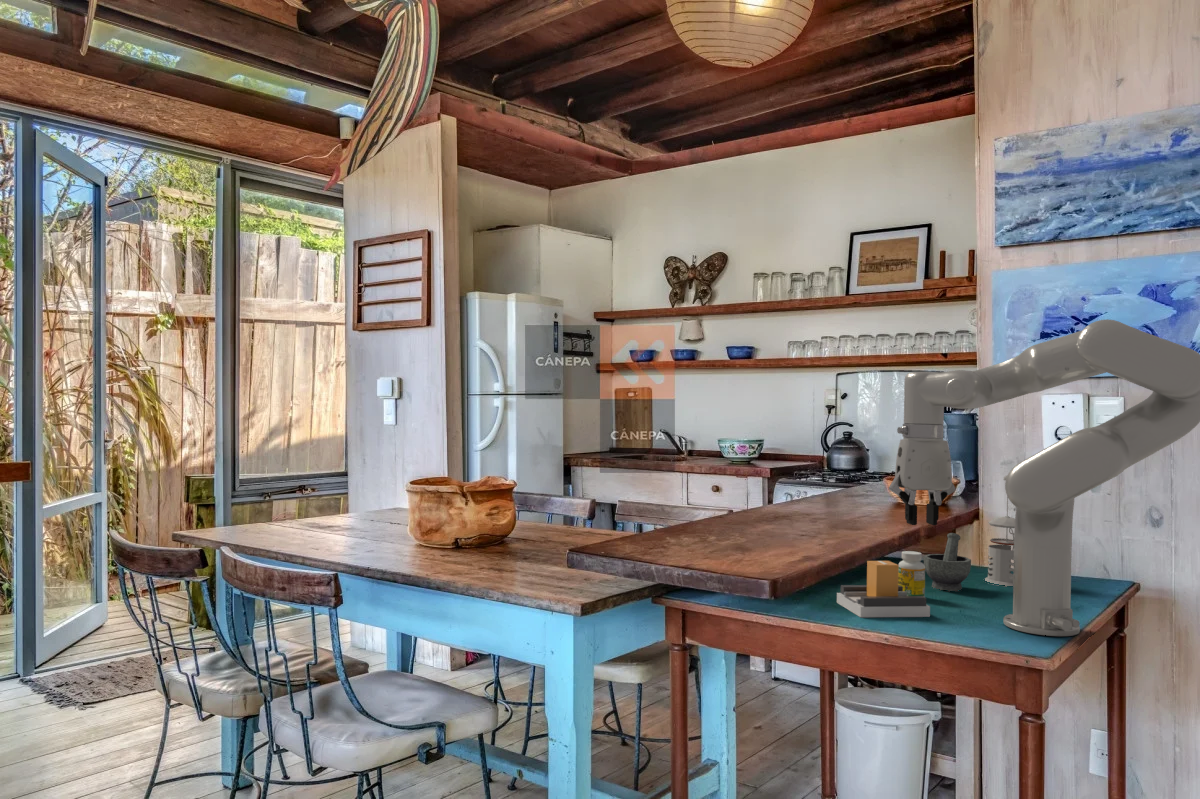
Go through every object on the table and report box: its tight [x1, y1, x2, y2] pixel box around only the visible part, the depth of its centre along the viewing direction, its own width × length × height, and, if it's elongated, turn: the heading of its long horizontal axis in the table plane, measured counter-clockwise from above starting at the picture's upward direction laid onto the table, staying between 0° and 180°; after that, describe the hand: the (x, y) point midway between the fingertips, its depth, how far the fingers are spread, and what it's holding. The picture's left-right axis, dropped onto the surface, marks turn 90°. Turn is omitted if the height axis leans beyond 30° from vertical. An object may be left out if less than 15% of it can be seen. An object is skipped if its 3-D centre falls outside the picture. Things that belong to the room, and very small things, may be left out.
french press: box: [984, 475, 1015, 587], centre depth 201 cm, size 10×12×25 cm
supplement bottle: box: [898, 550, 926, 598], centre depth 183 cm, size 5×5×10 cm
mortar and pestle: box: [923, 532, 972, 592], centre depth 193 cm, size 11×9×12 cm
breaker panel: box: [836, 584, 931, 618], centre depth 172 cm, size 12×14×4 cm
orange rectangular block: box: [866, 560, 899, 596], centre depth 172 cm, size 4×4×7 cm
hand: (921, 523), depth 172 cm, fingers open, 3 cm apart
